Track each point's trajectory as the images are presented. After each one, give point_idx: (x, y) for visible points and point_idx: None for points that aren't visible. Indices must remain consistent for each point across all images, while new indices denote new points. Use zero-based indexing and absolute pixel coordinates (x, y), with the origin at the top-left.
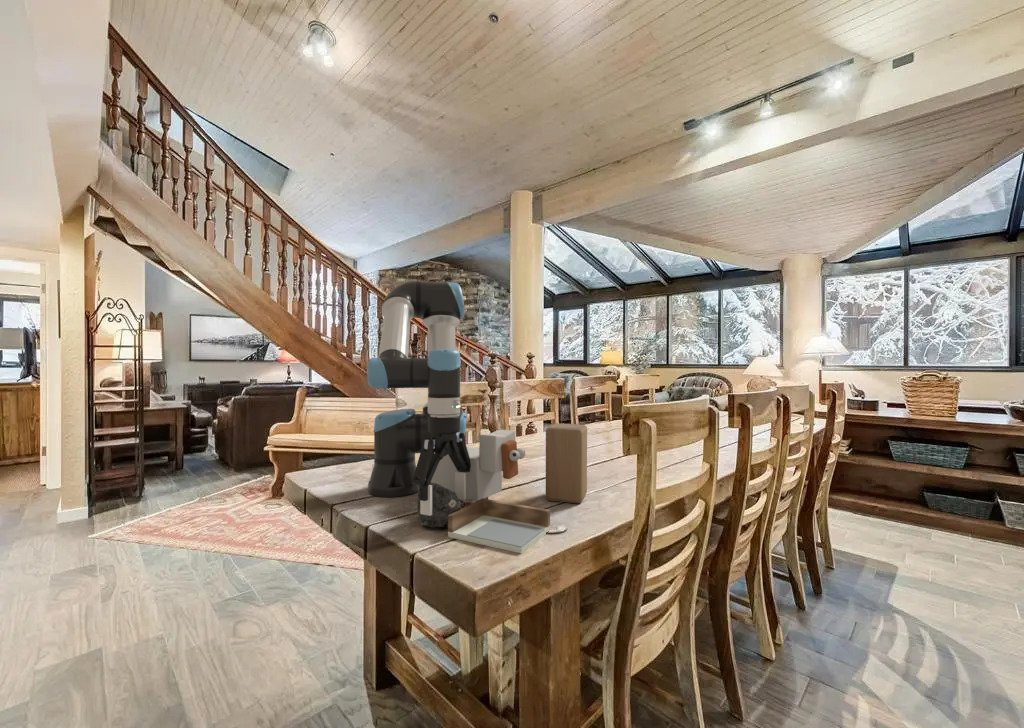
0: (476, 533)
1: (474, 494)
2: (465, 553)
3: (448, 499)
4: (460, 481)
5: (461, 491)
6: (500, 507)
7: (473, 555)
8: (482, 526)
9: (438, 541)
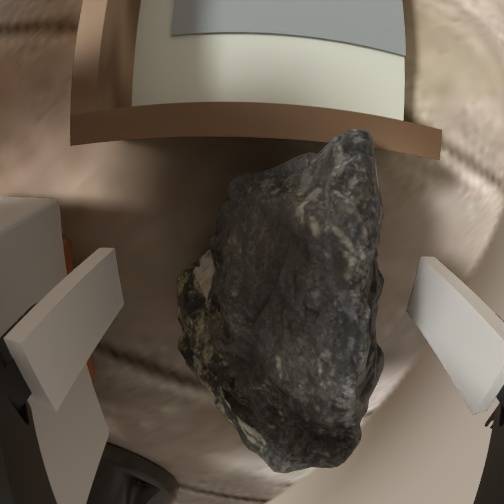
0: (376, 24)
1: (43, 231)
2: (465, 40)
3: (380, 228)
4: (68, 330)
5: (96, 286)
6: (116, 10)
7: (462, 16)
8: (290, 28)
9: (434, 164)
